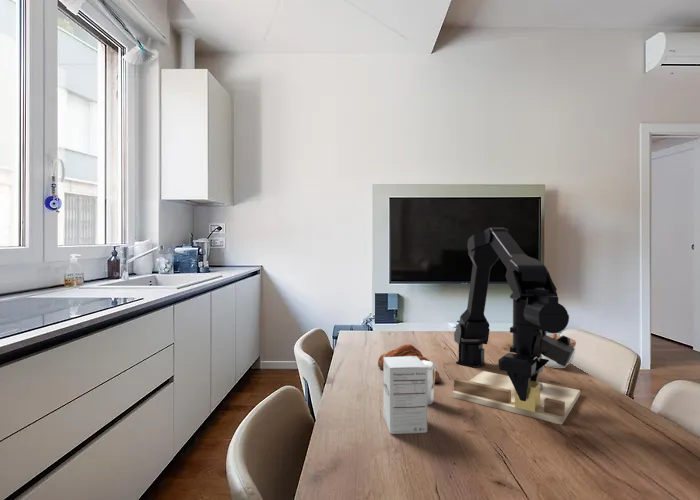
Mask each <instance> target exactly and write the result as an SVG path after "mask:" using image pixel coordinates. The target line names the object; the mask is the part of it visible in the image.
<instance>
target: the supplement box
mask: <svg viewBox="0 0 700 500" xmlns="http://www.w3.org/2000/svg"><path fill="white" fill-rule="evenodd" d="M383 359H384V370H383V383H382V384H383V391H382V392H383V395H382V397H383V403H382V404H383V405H382V406H383V408H382V409H383V413H382V415H383V419H384V421H385V423H386V426H387V428H388V431H389V434H391V435H402V434H407V435H408V434H422V433H423V434H425V433H428V404H427V366H426V365H425V364H424V363H423V362H422V361H421V360H420V359H419V358H418V357H417V356H404V357H384V358H383Z"/></svg>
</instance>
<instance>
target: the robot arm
mask: <svg viewBox="0 0 700 500" xmlns="http://www.w3.org/2000/svg"><path fill="white" fill-rule="evenodd" d="M467 250H468V251H467V254H468V256H469V258H470V260H471V262H472V269H471V276H470V284H469V290H468V291H469V292H468V297H467V298H468V299H467V307H466V310H465V311H463V312H462V313H461V315H459V322H458V324H457V326H456V328H455V330H454V333H453V337H454V342H455V343H456V344H458V360H457V361H455V362H456V364H458V365H463V366H468V367H473V368H478V367H480V366H482V365H483V364H485V362H486V361H485V348H483V347H484V346H483V345H488V342H489V336H490V323H489V322H488V320H487V318H486V316H485V311H486V310H485V309H486V302H487V295H488V291H489V281H490V275H491V269H492V267H493V266H494V265H495V264H496V262H498V260H499V259H500V261H501V262H502V264H503V265H504V266H505V268H506V273H505V279H506V281H507V285H508V286H509V288H510V289H511V291H512V292H511V294H510V295H509V297H510V299H512V326H511V327H509V333H511V334H512V345H511V346H510V347H509V352H507V353H505V355H503V356H501V358H499V359H498V361H497V362H498V370H499V371H501V372H502V371H503V372H506V374H507V376H509V378H510V380H511V381H512V384H513V386H514V388H515V390H516V392H517V394H518V396H519V399H520V400H521V401H526V399H527V394H528V389H529V383H530V381H535V382H537V379H538V380H539V374H540V373H539V371H540V368H541V367H544V366H545V364H546V363H548V362H549V360H547V359H542V355H544V356H545V357H547V358H549V359H551V360H553V361H555V362H557V364H559V365H562V366H566V364H567V363H568V362H569V360H570V358H571V356H572V353H573V351H574V348H573V347H574V346H571V342H570V338H571V337H568V336H565V335H561V337H560V338H558V339H555V338H554V337H553V338H551V337H549V336H547V335H548V334H547V333H550V334H553V333H556V334H557V333H558V334H559V333H561V332H563V331H564V330H565V329H566V328H567V326H568V324H569V322H570V321H569V320H570V314H568V310H567V309H566V307H565V306H564V305H562V304H560V303H559V297H558V293H557V286H556V285H555V283H554V281H553V279H552V276H551V275H550V272H549V270H548V268H547V267H546V265H545V264H543V263H542V262H541V261H539V260H538V259H537V258H534V257H531V256H528V255H527V254H526V253H525V252H524V250H523V249H522V248H520V246H519V244H518V243H517V242H516V241H515V239H514V238H513V237H512V236H511V234H510V230H509V229H508V228H505V227H488V228H485V229H484V230H483V231H480V232H478V233H477V232H476V233H475V234H472V235H471V236H470V237H469V238H468V240H467ZM541 354H542V355H541Z"/></svg>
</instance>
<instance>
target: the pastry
mask: <svg viewBox="0 0 700 500" xmlns="http://www.w3.org/2000/svg"><path fill="white" fill-rule="evenodd" d="M404 356H417V357H418V358H419V359H420V360H421V361H423V360H426V361H430V359H428V358H427V357H424V356H423V354H422V352H421V351H420V350H419V349H417V348H416V347H415V346H414V345H412V344H409V343H408V344H403V345H401V346H399V347H397V348H395V349H392V350H390V351H388V352H387V353H383V354H381V355H380V356H379V357H378V360H377V365H378V367H379V369H380V370H382V371H384V359H383V358H384V357H404ZM440 382H441V377H440V373H439V372H438V370H436V372H435V381H434V384H439V383H440Z"/></svg>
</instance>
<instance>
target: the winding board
mask: <svg viewBox="0 0 700 500" xmlns="http://www.w3.org/2000/svg"><path fill="white" fill-rule="evenodd" d="M539 382H540V381H539ZM540 383H542V384H543V389H542V390H540V407H539V408H538V409H537V410H536V412H532V411H528V410H524V409H520V408H516V407H515V388H514V386H513V384H512V381H511V380H510V378H509V376H508V375H506V374H502V373H501V374H499V373H495V372H490V371H486V370H482V371H481V372H479V373H477V375H475V376H474V377H472V378H471V379H469V380H466V379H462V378H458V377H457V378H455V379H453V391H452V392H451V398H455V399H458V400H462V401H466V402H470V403H473V404H477V405H481V406H484V407H485V406H486V407H489V408H493V409H497V410H502V411H506V412H510V413H513V414H517V415H521V416H525V417H528V418H533V419H537V420H542V421H545V422H549V423H553V424H557V425H561V426H562V425H563V424H564V422H565V421H566V420H567V417H568V416H569V414H570V412H571V411H572V409H573V408H574V406H575V404H576V402H577V401H578V399H579V398H580V395H581V390H580V389H576V388H570V387H565V386H562V385H556V384H550V383H547V382H546V383H545V382H540Z"/></svg>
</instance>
